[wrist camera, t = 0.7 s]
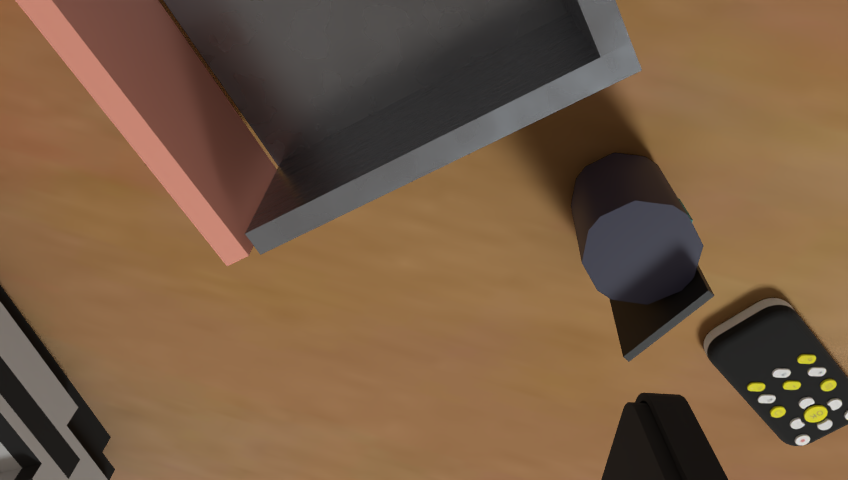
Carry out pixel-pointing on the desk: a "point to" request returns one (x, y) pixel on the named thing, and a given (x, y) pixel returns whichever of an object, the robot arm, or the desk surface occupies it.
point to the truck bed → (393, 86)
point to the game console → (43, 412)
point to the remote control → (781, 371)
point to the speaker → (638, 247)
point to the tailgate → (164, 109)
